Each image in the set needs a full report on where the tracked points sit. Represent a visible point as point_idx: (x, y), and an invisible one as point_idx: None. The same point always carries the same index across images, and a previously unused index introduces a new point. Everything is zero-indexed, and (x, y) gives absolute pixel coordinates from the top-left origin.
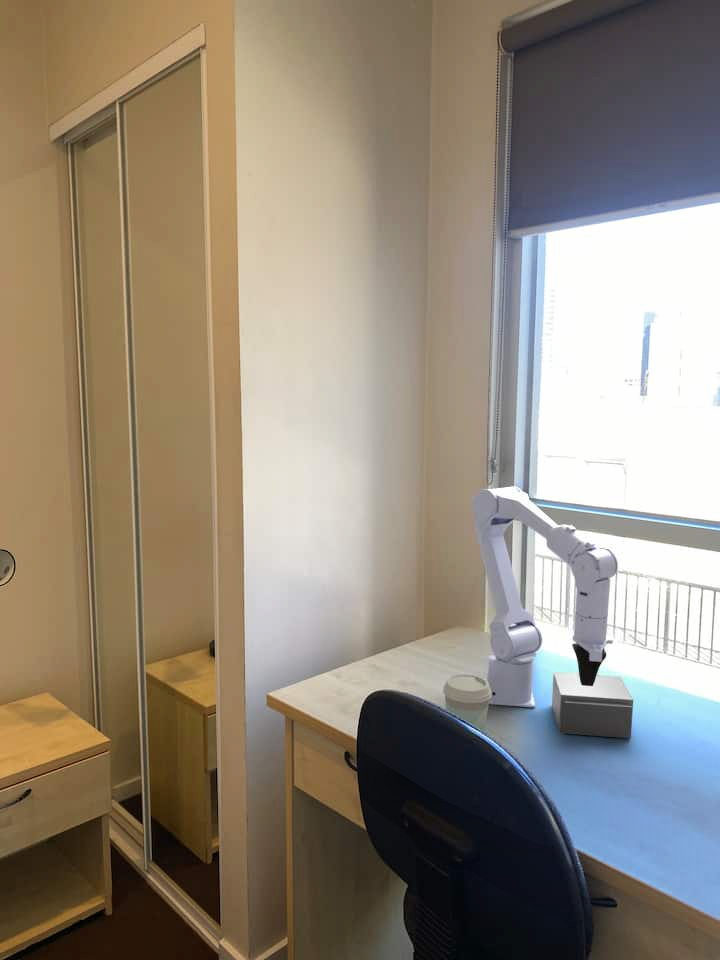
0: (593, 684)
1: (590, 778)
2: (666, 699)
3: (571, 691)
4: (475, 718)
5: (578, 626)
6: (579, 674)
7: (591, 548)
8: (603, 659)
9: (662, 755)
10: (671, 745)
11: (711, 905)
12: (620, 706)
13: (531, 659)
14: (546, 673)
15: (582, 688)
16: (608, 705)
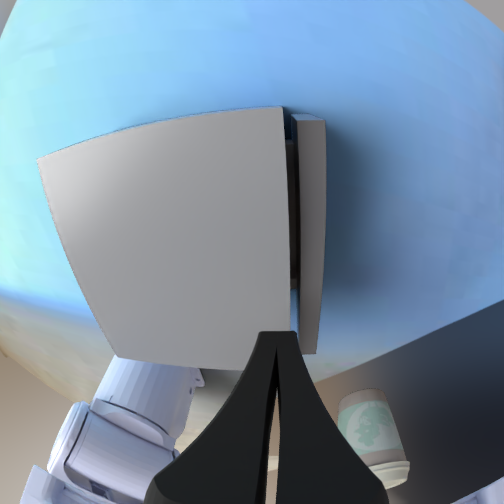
0: (295, 335)
1: (480, 251)
2: (32, 34)
3: (253, 346)
4: (400, 440)
5: None
6: (274, 404)
7: None
8: (374, 475)
9: (384, 48)
10: (311, 4)
11: None
12: (325, 174)
13: (131, 417)
14: (28, 278)
15: (211, 313)
16: (324, 226)
